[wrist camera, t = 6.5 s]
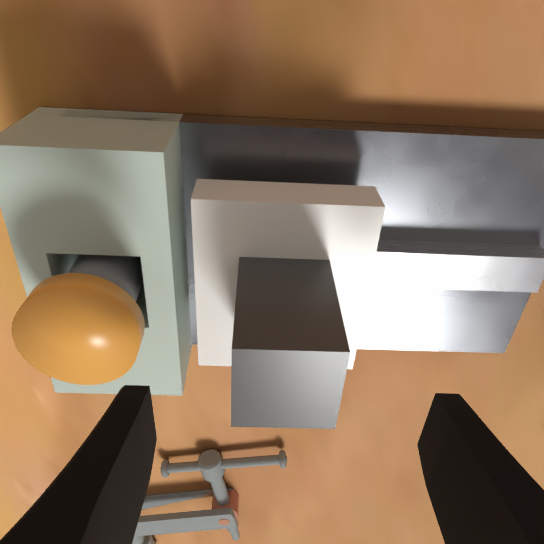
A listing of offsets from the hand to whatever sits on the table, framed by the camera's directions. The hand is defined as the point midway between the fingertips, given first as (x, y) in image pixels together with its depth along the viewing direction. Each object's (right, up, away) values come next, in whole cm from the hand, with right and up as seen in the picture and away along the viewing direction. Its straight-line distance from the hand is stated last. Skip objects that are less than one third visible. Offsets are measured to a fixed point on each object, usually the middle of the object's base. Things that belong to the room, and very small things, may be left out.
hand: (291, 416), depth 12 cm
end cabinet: (-6, +5, +7) cm, 11 cm away
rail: (+1, +5, +8) cm, 9 cm away
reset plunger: (-6, +4, +5) cm, 9 cm away
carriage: (0, +4, +6) cm, 7 cm away
